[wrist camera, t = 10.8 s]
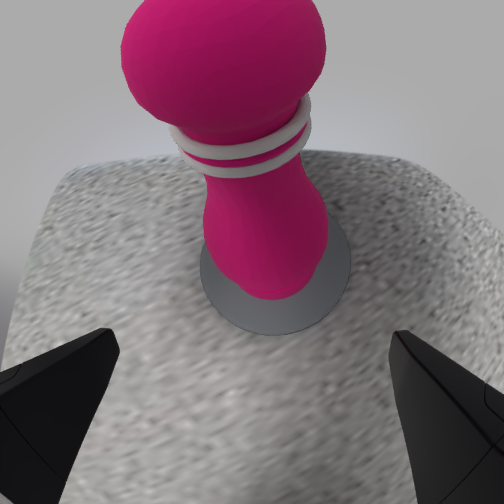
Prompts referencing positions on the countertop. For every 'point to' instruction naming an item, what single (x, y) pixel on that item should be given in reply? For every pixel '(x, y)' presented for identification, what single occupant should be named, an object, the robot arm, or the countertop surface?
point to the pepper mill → (239, 125)
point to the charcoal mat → (288, 309)
